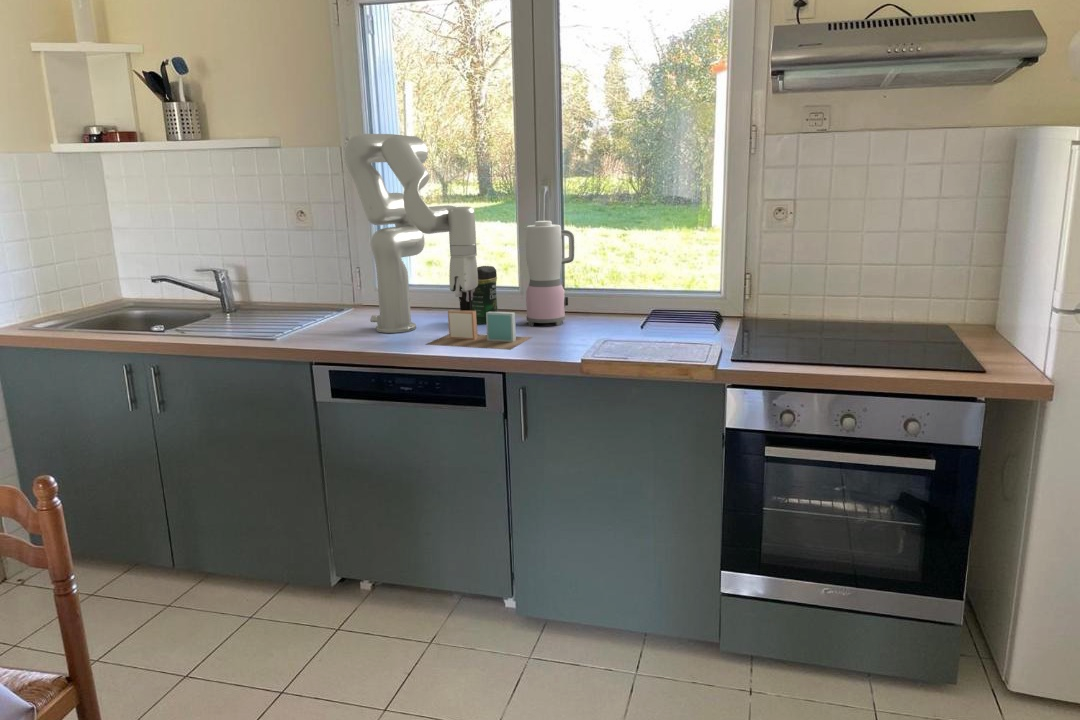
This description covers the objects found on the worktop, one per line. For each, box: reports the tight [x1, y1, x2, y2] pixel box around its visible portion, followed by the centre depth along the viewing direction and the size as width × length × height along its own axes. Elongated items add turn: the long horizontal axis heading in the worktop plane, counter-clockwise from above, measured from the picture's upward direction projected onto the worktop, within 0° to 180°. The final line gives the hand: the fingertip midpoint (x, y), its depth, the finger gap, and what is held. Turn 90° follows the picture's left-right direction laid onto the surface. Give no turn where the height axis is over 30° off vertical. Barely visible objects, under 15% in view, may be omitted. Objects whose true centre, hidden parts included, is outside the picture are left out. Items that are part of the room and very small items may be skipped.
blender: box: [522, 220, 575, 326], centre depth 256 cm, size 16×12×32 cm
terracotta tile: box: [447, 309, 478, 340], centre depth 234 cm, size 8×2×8 cm, turn 69°
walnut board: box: [425, 333, 533, 350], centre depth 232 cm, size 26×16×1 cm, turn 69°
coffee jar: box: [472, 265, 499, 326], centre depth 258 cm, size 10×8×19 cm
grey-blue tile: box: [486, 311, 517, 342], centre depth 230 cm, size 8×2×8 cm, turn 69°
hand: (466, 314), depth 236 cm, fingers closed
